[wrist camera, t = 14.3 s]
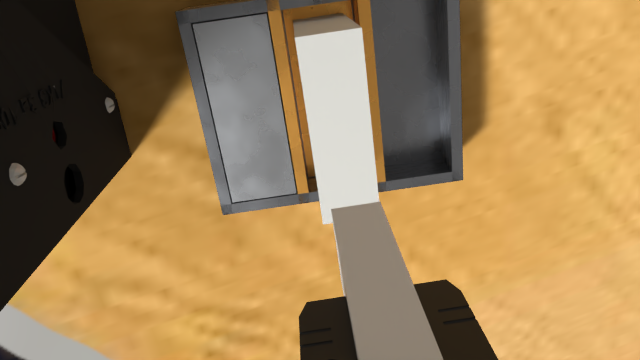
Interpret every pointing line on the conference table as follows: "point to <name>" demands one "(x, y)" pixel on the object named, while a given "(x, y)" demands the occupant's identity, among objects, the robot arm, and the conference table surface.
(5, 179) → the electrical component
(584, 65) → the conference table surface
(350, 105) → the white rectangular block
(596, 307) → the conference table surface
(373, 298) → the robot arm
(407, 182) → the rack
